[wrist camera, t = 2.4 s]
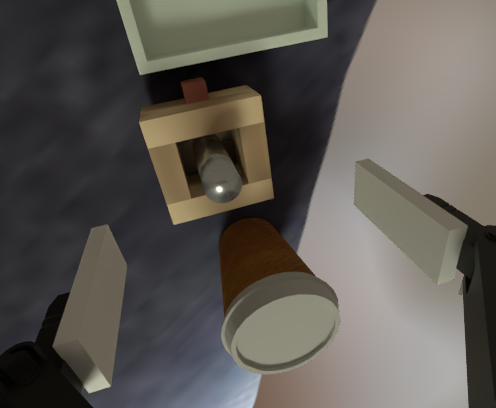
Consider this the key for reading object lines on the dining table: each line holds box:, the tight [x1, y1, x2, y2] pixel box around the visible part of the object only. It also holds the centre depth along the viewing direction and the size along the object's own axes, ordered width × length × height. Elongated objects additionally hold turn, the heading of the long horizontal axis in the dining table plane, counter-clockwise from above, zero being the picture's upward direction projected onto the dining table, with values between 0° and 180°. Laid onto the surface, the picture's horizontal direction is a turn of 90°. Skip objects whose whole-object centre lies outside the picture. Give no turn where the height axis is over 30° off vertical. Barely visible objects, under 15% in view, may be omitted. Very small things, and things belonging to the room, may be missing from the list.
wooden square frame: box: [139, 77, 274, 225], centre depth 24 cm, size 8×9×4 cm
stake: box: [177, 130, 242, 203], centre depth 23 cm, size 7×7×9 cm
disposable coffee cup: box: [219, 218, 340, 374], centre depth 29 cm, size 10×10×12 cm
